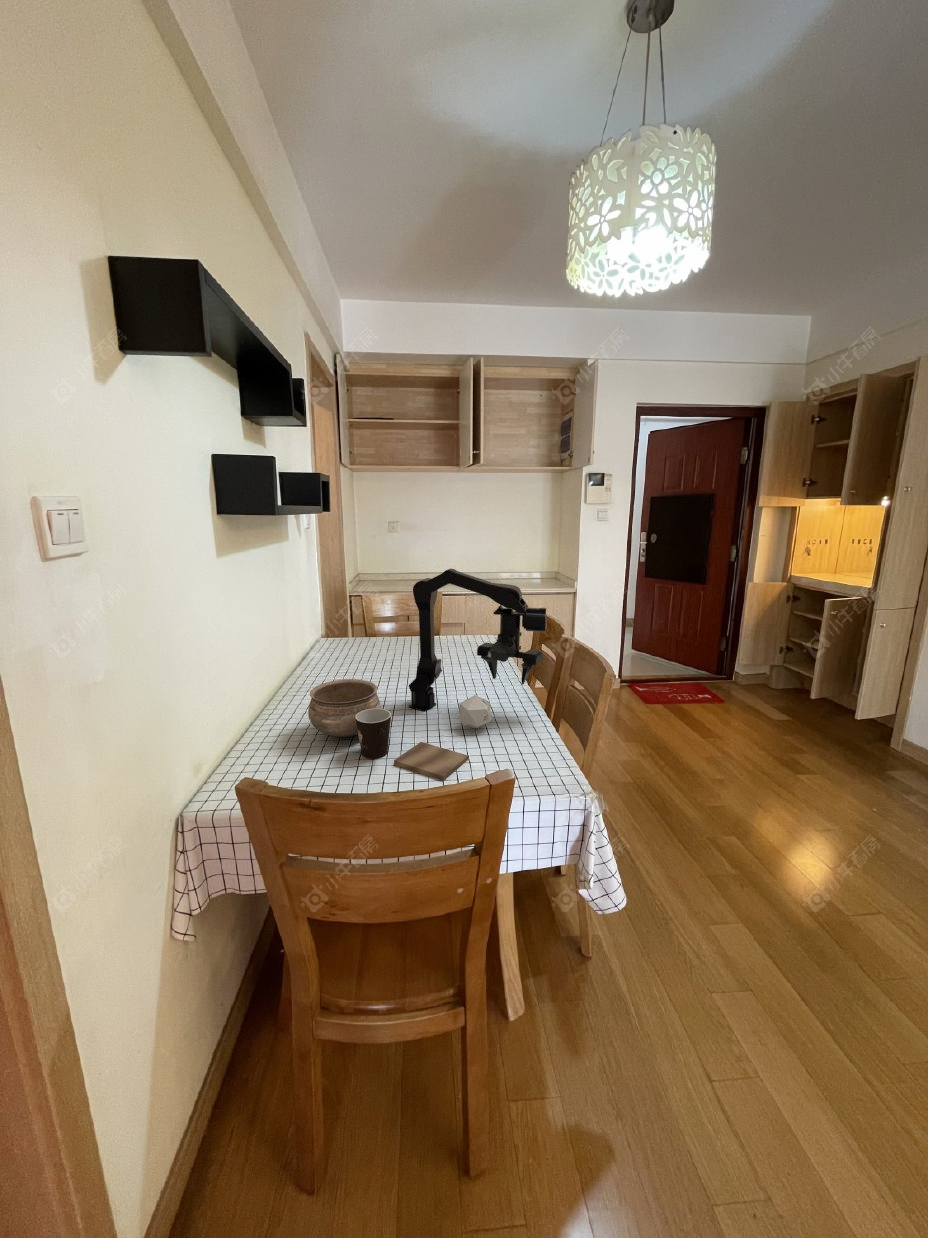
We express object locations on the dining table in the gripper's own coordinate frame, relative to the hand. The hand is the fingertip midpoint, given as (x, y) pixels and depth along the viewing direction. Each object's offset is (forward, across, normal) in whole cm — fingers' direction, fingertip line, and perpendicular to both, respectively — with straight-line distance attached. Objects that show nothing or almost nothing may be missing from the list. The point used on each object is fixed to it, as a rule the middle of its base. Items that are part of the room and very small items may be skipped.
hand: (508, 681), depth 142 cm
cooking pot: (+10, -32, -34) cm, 48 cm away
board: (+10, -3, -35) cm, 37 cm away
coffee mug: (+10, -17, -40) cm, 45 cm away
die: (+10, -3, -14) cm, 18 cm away
